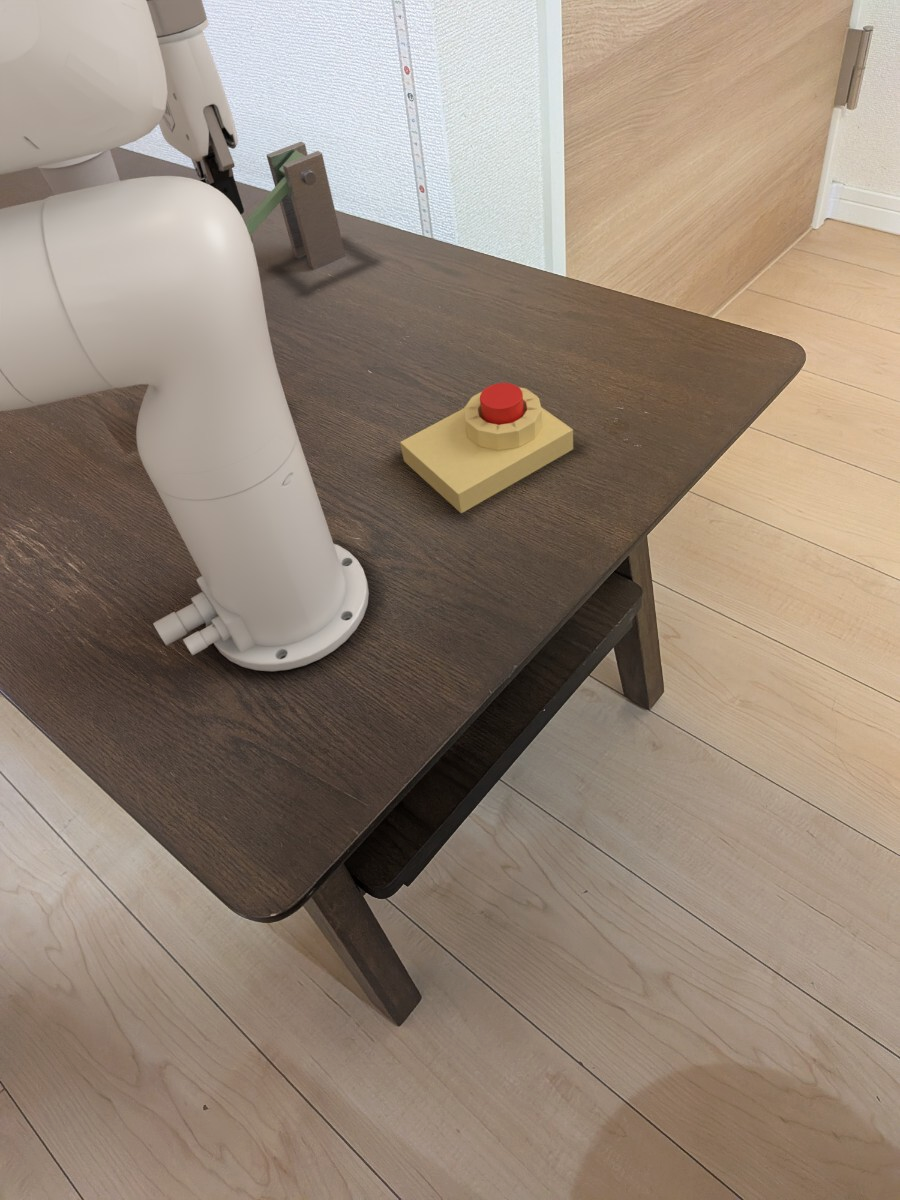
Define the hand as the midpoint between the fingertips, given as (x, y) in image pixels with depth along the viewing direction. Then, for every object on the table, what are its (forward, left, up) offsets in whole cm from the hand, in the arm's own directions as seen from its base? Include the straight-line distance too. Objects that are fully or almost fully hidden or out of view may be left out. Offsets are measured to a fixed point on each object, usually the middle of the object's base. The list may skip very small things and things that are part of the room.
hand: (228, 215), depth 89 cm
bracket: (+9, 0, -10) cm, 13 cm away
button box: (+3, -42, -10) cm, 43 cm away
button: (+5, -42, -6) cm, 42 cm away
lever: (+5, 0, -2) cm, 6 cm away
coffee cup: (-9, +24, -10) cm, 28 cm away
